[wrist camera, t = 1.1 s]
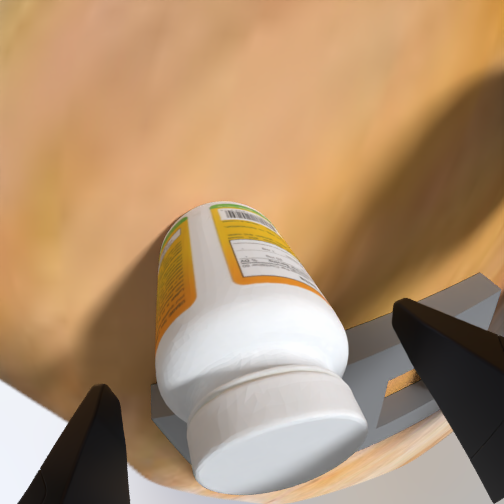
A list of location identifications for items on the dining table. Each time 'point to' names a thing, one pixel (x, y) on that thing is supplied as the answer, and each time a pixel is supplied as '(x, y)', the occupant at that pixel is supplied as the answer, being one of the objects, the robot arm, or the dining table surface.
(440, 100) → the dining table surface
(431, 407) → the plate
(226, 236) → the supplement bottle
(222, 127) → the dining table surface
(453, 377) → the robot arm
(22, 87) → the dining table surface
